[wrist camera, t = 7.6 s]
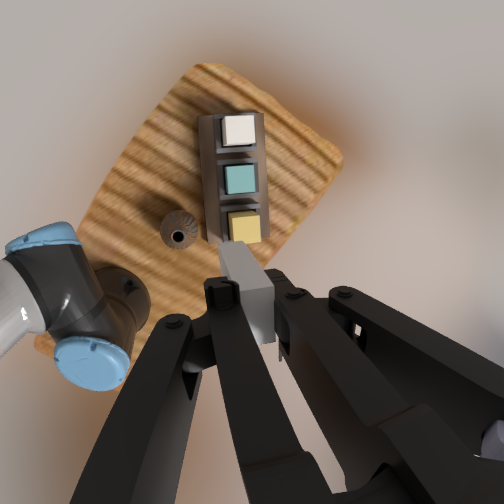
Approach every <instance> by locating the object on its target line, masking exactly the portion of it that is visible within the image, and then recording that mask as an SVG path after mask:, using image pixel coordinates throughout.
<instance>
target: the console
mask: <svg viewBox="0 0 504 504" xmlns="http://www.w3.org/2000/svg"><path fill="white" fill-rule="evenodd" d="M246 115H254V127H255V143H252V144H249V145H232V146H223V137H222V120H223V119H224V117H225V116H246ZM198 133H199V148H200V162H201V175H202V187H203V198H204V209H205V219H206V229H207V239H208V244H216V243H226V242H232V240H231V238H230V233H229V220H228V213H230V212H240V211H250V210H253V211H254V212H256V213H257V214H258V215H260V233H261V241H262V238H266V237H270V227H269V205H268V184H267V165H266V148H265V131H264V115H263V113H227V114H214V115H205V116H198ZM239 165H254V177H255V192H245V193H234V194H228V193H227V192H225V187H224V173H223V167H226V166H239Z"/></svg>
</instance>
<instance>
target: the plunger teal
mask: <svg viewBox="0 0 504 504" xmlns="http://www.w3.org/2000/svg"><path fill="white" fill-rule="evenodd" d="M223 173H224V187H225V192H227V193H228V194H234V193H245V192H255V177H254V165H239V166H226V167H223Z"/></svg>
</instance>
